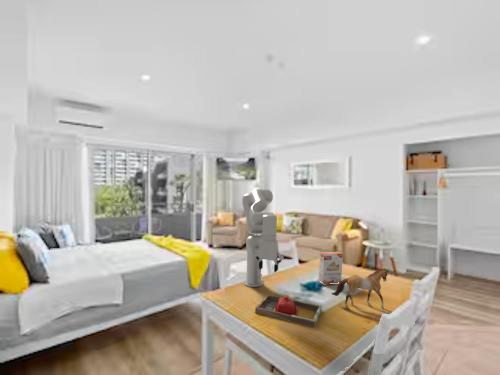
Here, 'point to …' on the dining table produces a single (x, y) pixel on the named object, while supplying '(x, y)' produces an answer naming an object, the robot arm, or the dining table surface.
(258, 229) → the robot arm
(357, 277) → the horse figurine
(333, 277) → the cracker box
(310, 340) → the dining table surface
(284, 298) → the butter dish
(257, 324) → the dining table surface
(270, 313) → the box
